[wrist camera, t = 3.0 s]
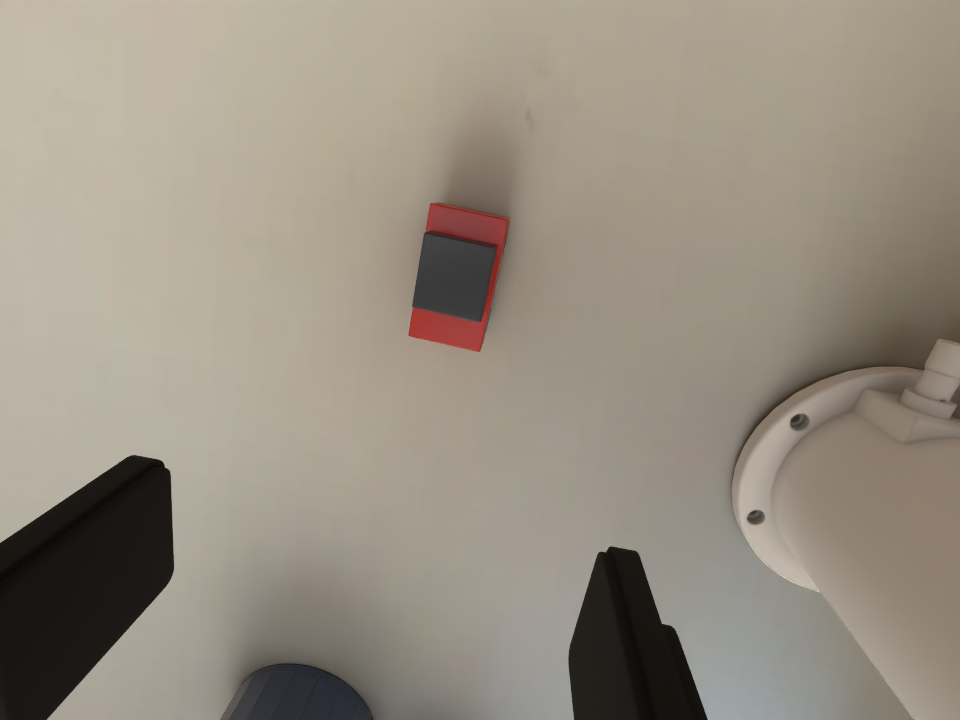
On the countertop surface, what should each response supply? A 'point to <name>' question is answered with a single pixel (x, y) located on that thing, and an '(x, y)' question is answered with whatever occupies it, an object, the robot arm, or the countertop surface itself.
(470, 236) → the car
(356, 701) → the cup
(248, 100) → the countertop surface
